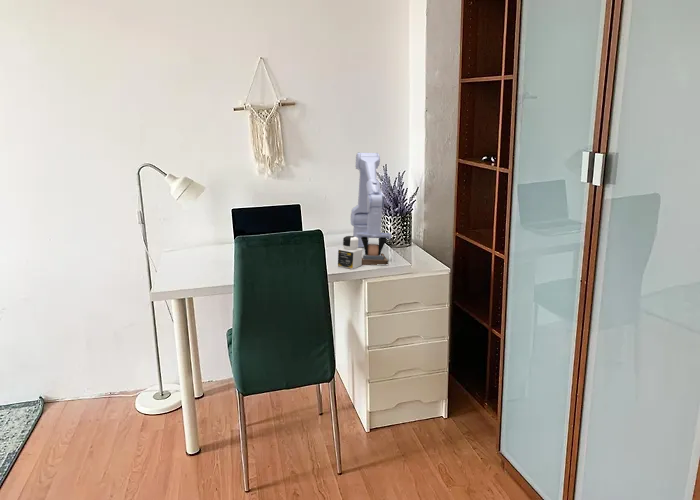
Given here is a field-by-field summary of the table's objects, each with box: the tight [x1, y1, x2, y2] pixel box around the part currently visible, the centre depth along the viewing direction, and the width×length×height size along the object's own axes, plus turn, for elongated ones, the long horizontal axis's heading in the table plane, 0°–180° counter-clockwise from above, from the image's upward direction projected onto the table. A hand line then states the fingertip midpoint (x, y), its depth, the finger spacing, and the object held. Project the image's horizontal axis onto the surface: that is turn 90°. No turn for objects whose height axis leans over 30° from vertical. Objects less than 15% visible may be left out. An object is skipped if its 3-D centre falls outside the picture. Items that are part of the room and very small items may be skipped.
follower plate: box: [362, 254, 385, 260], centre depth 243 cm, size 1×8×2 cm, turn 96°
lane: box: [361, 252, 389, 266], centre depth 246 cm, size 14×11×2 cm
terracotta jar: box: [367, 243, 379, 256], centre depth 246 cm, size 5×5×6 cm
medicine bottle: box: [337, 235, 363, 270], centre depth 235 cm, size 7×7×12 cm
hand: (372, 254), depth 246 cm, fingers closed on terracotta jar, 5 cm apart
